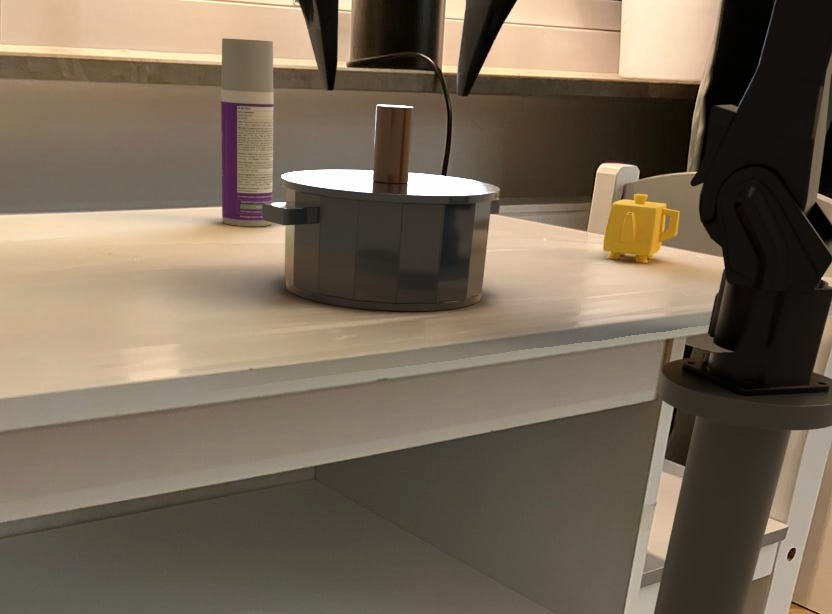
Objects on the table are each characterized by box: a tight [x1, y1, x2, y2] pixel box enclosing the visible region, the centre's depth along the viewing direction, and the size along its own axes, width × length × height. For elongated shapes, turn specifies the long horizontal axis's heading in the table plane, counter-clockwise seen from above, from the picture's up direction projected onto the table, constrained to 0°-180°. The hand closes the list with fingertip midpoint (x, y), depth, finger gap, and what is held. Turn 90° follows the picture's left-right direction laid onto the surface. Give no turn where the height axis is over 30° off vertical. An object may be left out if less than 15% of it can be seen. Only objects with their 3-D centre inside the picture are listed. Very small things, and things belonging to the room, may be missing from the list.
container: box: [220, 37, 275, 227], centre depth 95 cm, size 5×5×15 cm
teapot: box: [602, 193, 681, 264], centre depth 90 cm, size 8×6×5 cm
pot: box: [262, 188, 501, 312], centre depth 72 cm, size 14×19×6 cm
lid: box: [280, 104, 501, 204], centre depth 69 cm, size 15×15×6 cm
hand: (396, 93), depth 68 cm, fingers open, 9 cm apart
